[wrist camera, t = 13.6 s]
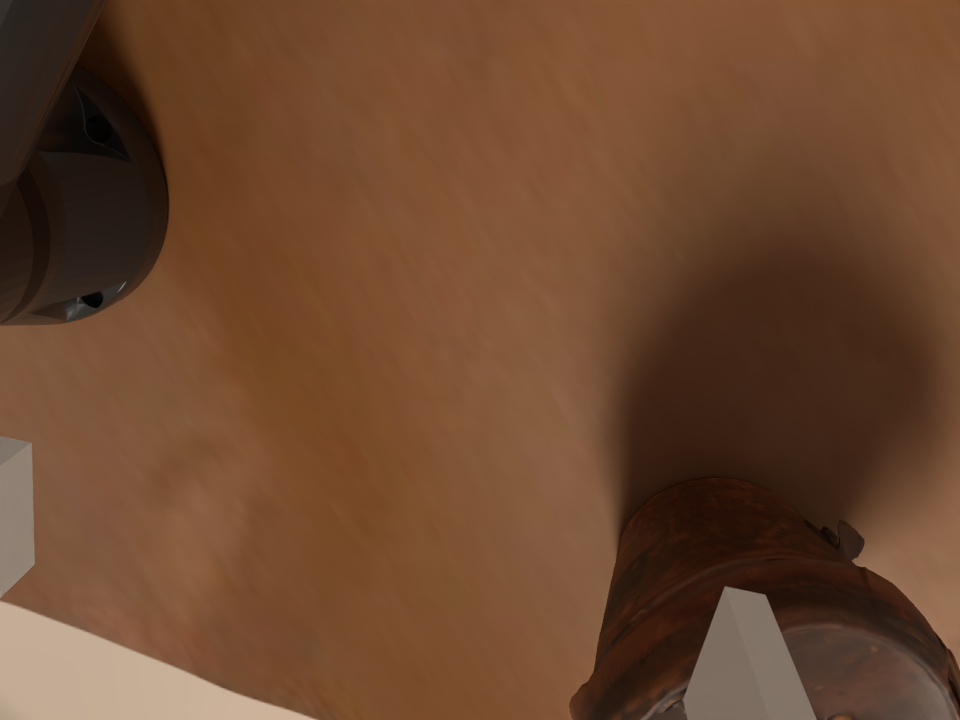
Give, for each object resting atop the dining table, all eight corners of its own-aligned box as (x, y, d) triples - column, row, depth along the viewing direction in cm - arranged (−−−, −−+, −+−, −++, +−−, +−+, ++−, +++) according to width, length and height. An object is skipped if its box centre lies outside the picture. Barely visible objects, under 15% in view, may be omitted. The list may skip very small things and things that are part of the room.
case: (845, 693, 53) (981, 976, 37) (551, 659, 54) (552, 919, 38) (913, 458, 47) (1114, 668, 30) (580, 425, 48) (597, 610, 32)
